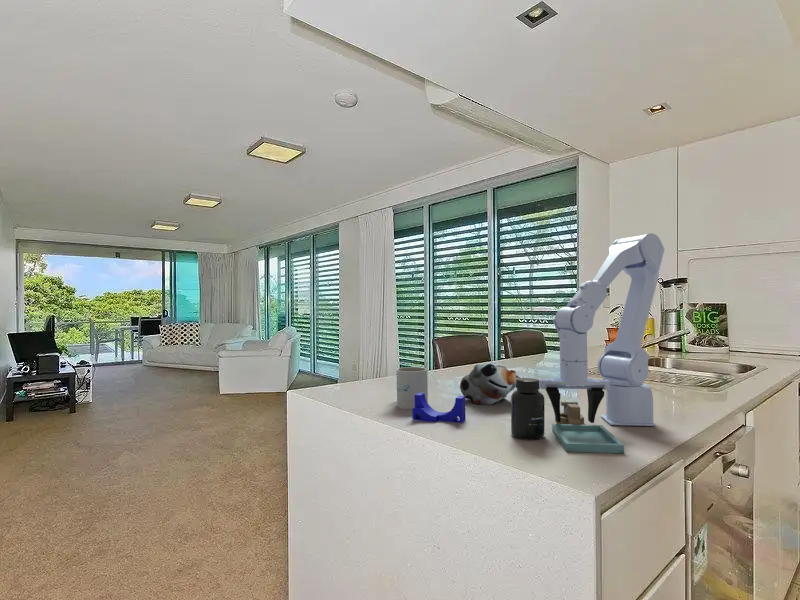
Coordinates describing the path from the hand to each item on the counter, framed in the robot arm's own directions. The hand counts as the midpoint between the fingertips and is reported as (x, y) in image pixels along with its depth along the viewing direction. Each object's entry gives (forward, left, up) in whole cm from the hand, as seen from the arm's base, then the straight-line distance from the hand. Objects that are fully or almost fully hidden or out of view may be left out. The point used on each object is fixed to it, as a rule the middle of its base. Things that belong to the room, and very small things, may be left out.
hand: (574, 421), depth 100 cm
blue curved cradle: (+30, -5, -2) cm, 31 cm away
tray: (0, +9, -2) cm, 9 cm away
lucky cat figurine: (+17, -27, -2) cm, 32 cm away
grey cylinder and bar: (0, -5, -2) cm, 5 cm away
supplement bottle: (+11, +7, -2) cm, 13 cm away
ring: (0, -3, -2) cm, 4 cm away
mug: (+39, -21, -2) cm, 45 cm away
